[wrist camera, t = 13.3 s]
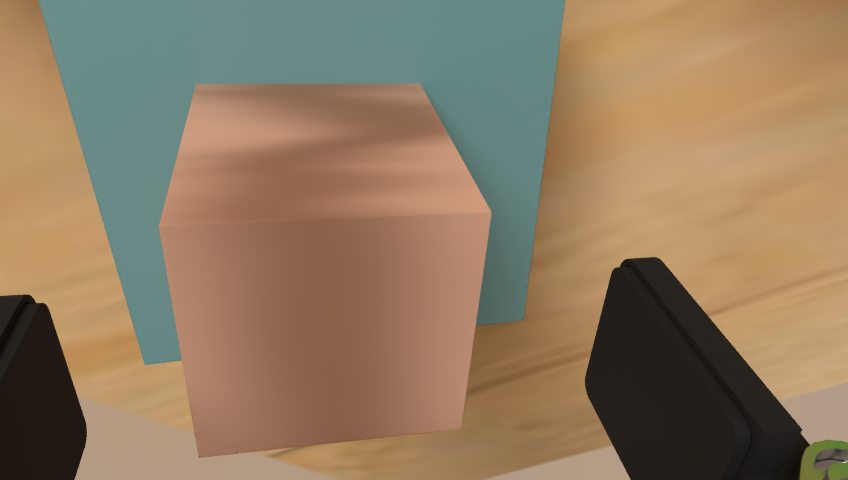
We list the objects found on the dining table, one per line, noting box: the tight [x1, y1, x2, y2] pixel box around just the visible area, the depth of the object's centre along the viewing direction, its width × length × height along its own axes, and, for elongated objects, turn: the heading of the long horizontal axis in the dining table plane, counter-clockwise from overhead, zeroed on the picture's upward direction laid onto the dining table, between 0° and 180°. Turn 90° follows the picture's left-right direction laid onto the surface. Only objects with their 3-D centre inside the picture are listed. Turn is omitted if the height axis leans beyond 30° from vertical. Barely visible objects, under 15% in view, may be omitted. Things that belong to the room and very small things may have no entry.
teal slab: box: [39, 0, 565, 365], centre depth 18 cm, size 11×11×4 cm
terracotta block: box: [159, 84, 492, 458], centre depth 14 cm, size 5×5×6 cm
